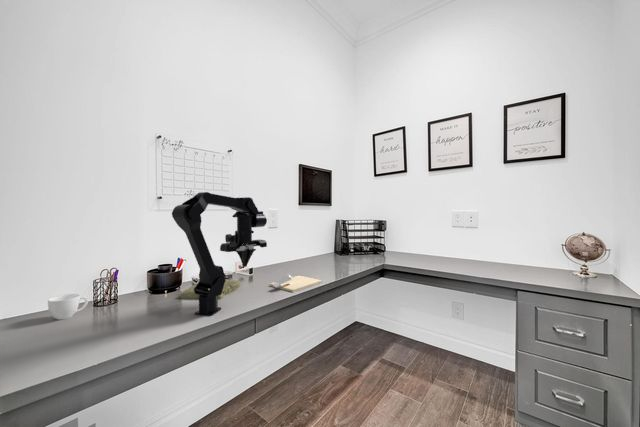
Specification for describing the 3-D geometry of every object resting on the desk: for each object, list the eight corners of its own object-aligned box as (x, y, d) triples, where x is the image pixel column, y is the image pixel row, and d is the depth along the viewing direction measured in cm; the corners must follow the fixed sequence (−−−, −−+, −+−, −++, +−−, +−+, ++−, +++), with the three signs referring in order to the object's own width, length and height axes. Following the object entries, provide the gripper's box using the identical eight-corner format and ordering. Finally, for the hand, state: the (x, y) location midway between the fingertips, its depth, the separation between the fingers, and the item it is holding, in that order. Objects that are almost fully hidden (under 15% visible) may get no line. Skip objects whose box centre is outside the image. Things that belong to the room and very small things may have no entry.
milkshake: (275, 292, 121) (290, 285, 129) (281, 286, 119) (296, 279, 127) (270, 284, 123) (285, 277, 131) (276, 278, 120) (290, 271, 128)
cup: (48, 317, 91) (47, 297, 91) (86, 309, 98) (86, 291, 98) (48, 324, 86) (48, 303, 86) (89, 315, 93) (89, 295, 93)
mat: (293, 292, 118) (293, 289, 118) (269, 285, 128) (269, 283, 128) (322, 282, 133) (322, 280, 133) (299, 277, 143) (298, 275, 143)
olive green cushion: (179, 299, 110) (179, 291, 110) (205, 285, 130) (205, 278, 130) (223, 301, 108) (223, 292, 108) (242, 286, 128) (242, 279, 128)
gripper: (251, 226, 122) (252, 260, 122) (212, 228, 108) (213, 267, 108) (267, 227, 115) (267, 263, 115) (227, 230, 100) (228, 271, 101)
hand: (244, 266), depth 110 cm, fingers closed
